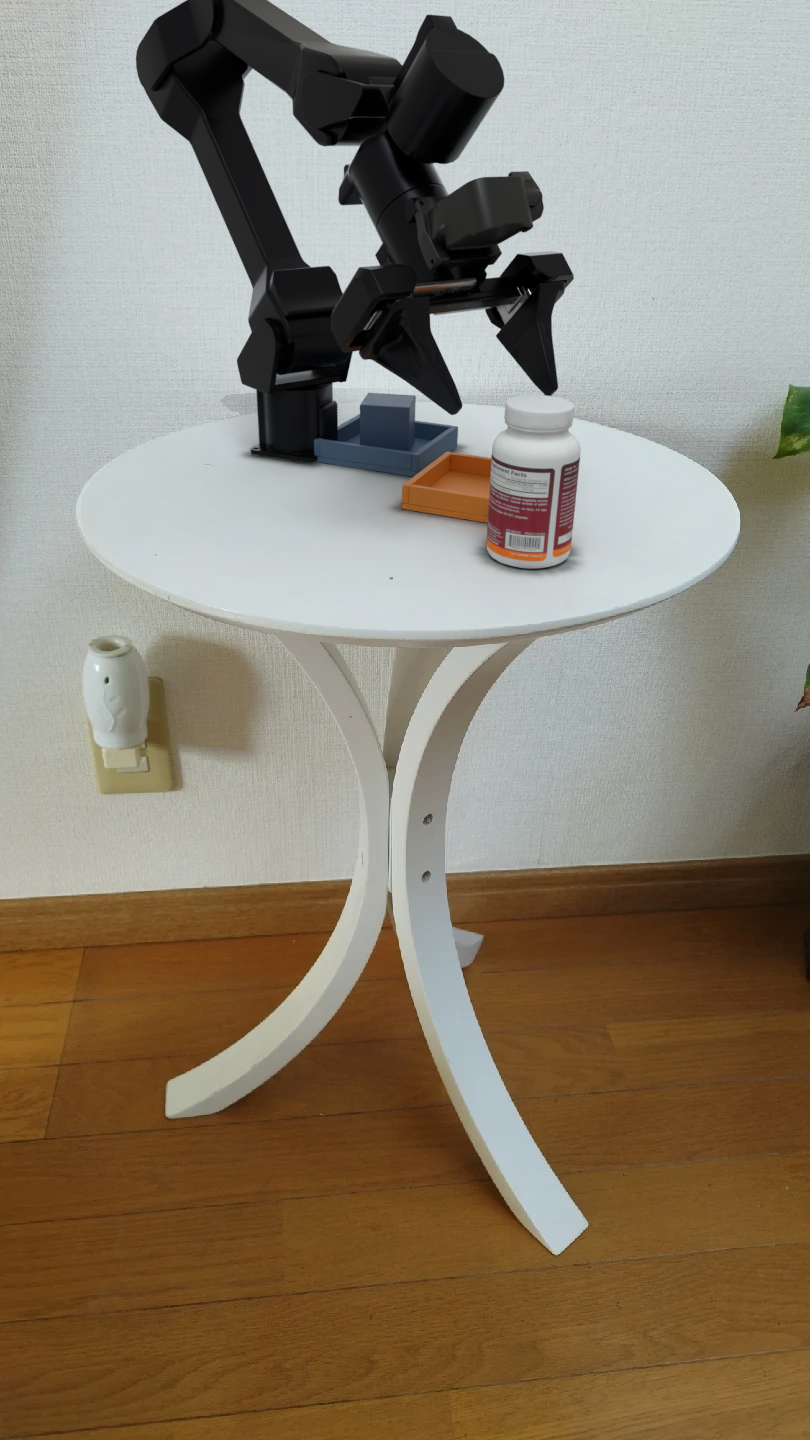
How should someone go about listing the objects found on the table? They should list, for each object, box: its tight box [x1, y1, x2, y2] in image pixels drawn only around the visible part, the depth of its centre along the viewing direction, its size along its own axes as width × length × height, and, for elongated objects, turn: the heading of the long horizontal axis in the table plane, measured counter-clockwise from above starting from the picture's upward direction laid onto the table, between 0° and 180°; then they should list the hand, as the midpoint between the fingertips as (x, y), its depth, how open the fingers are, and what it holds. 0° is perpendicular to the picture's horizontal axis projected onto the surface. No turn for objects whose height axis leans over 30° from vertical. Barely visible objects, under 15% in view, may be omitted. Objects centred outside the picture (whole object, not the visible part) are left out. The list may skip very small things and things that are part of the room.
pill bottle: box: [486, 394, 582, 570], centre depth 72 cm, size 6×6×11 cm
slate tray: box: [314, 413, 459, 478], centre depth 94 cm, size 10×10×2 cm
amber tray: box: [401, 451, 492, 524], centre depth 84 cm, size 10×10×2 cm
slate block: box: [359, 392, 417, 452], centre depth 94 cm, size 4×4×4 cm
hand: (506, 401), depth 72 cm, fingers open, 9 cm apart
